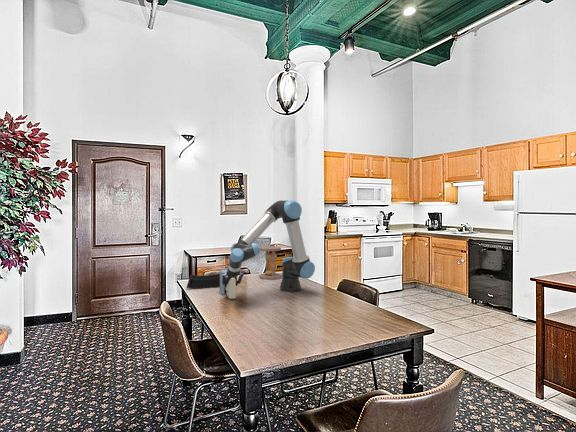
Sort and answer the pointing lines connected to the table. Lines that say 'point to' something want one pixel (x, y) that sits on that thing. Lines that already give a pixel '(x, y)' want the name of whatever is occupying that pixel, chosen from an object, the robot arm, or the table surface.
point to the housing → (222, 287)
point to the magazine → (204, 281)
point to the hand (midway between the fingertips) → (229, 288)
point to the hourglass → (270, 257)
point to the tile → (231, 288)
